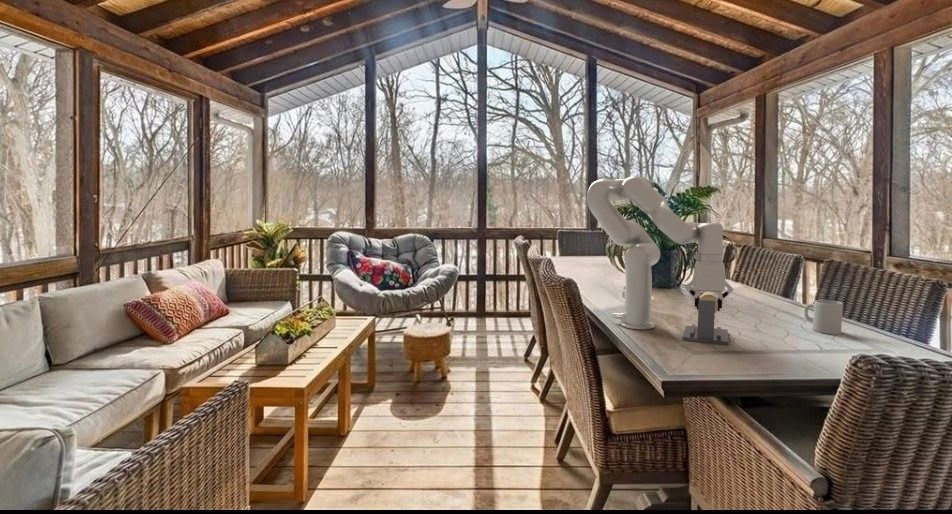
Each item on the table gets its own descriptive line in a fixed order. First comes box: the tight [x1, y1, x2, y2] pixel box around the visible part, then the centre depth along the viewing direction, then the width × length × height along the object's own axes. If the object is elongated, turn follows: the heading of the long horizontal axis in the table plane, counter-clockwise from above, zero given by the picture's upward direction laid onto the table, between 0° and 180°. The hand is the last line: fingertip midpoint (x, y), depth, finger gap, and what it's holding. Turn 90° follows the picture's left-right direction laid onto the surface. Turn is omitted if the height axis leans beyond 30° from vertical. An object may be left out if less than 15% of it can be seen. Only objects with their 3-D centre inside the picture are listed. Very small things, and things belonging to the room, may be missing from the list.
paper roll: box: [698, 291, 718, 313], centre depth 173 cm, size 12×6×6 cm, turn 154°
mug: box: [803, 299, 844, 336], centre depth 182 cm, size 12×8×11 cm
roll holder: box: [682, 292, 729, 346], centre depth 174 cm, size 14×17×14 cm
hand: (708, 309), depth 174 cm, fingers closed on paper roll, 5 cm apart
